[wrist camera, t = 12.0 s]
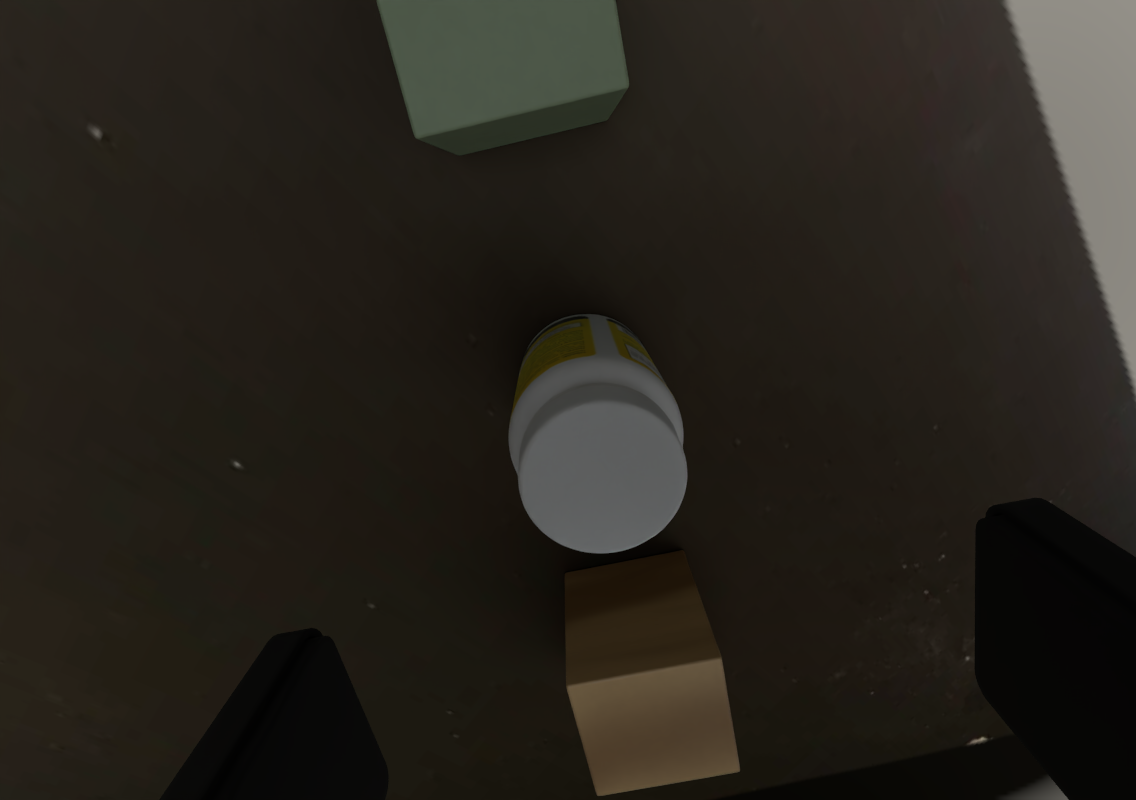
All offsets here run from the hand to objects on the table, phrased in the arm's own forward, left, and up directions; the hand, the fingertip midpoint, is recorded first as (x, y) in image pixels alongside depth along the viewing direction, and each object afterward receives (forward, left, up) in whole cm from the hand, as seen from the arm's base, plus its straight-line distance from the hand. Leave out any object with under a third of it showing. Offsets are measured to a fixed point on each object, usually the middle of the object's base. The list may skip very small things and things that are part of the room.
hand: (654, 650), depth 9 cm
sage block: (-7, -8, -14) cm, 18 cm away
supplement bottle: (0, 0, -14) cm, 14 cm away
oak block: (+7, +8, -14) cm, 17 cm away
